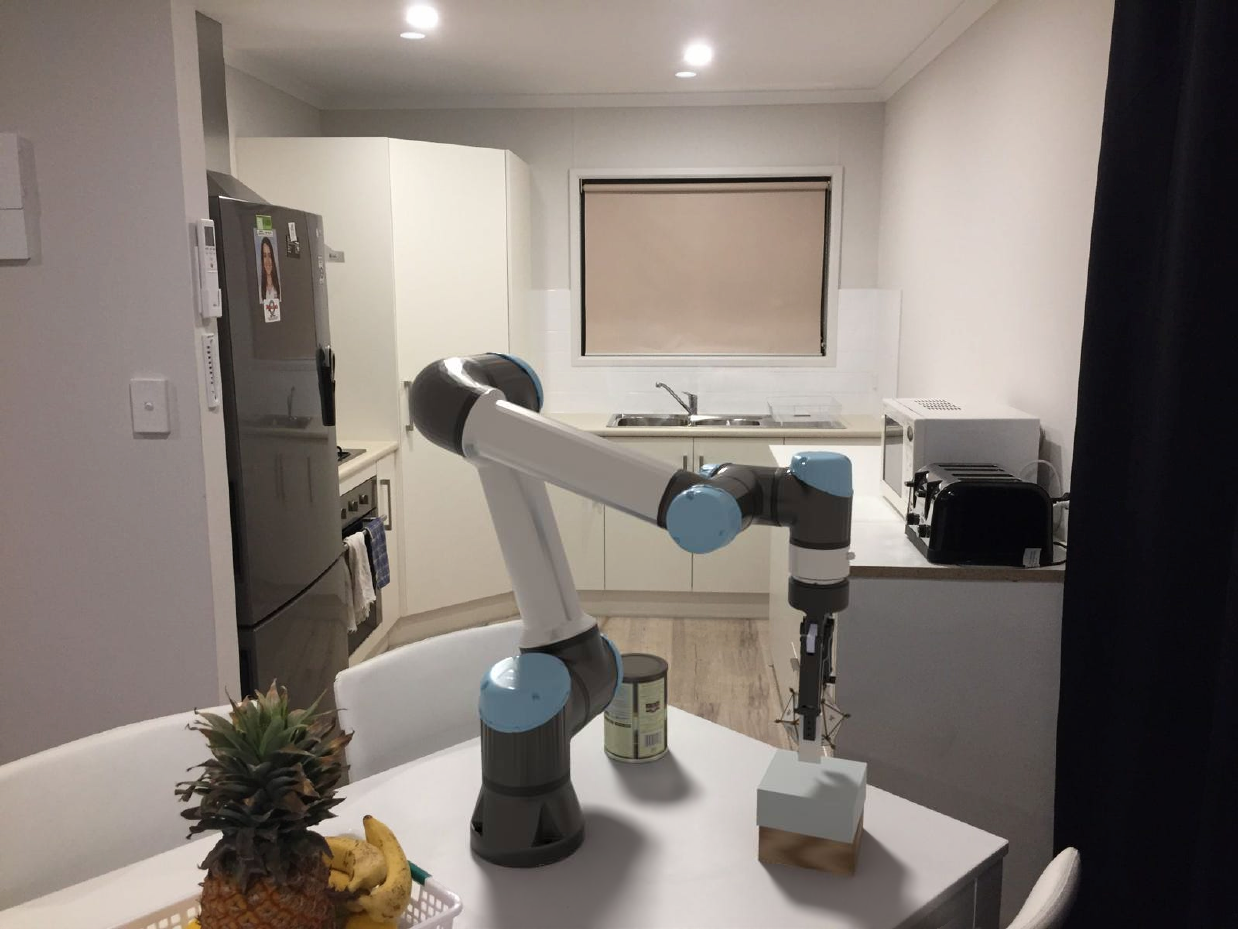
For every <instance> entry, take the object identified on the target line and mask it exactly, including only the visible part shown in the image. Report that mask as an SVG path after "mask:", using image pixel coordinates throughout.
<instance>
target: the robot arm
mask: <svg viewBox="0 0 1238 929" xmlns="http://www.w3.org/2000/svg"><path fill="white" fill-rule="evenodd" d="M543 389H544V388H543V385H542V382H541V380H540V377H539V376H538V374H537V373H536V371H535V370H534V369H533V368H532V366H531V365H530V364H528V363H527V362H526V361H525V360H523V359H522V358H521V357H518V356H516V355H513V354H510V353H502V352H501V353H500V352H492V351H488V352H486V353H484V352H483V353H477V354H470V355H464V356H463V355H462V356H456V357H455V356H454V357H453V356H452V357H445V358H440V359H437V360H434V361H433V362H431V363H429V364H427V365H426V366H425V367H424V368H423V369H422V370H420V372H419V373H418V374H417V375H416V376H415V379H414V380H413V382H412V384H411V386H410V389H409V394H408V401H407V402H408V411H409V415H410V418H411V420H412V423H413V425H414V426H415V428H416V429H417V430H418V432H419V433H420V434H421V436H423V437H424V438H425V439H426V440H428V441H429V442H430V443H432V444H433V445H436V446H437V447H439V448H441V449H443V450H446V451H448V452H451V453H453V454H455V455H458V456H460V457H462V459H463V460H464V461H465V462H467V463H468V464H470V465H473V466H474V467H475V468H476V469H477V473H478V477H479V481H480V483H481V486H482V491H483V493H484V496H485V499H486V503H487V506H488V507H487V508H488V510H489V513H490V516H491V520H492V524H493V527H494V531H495V533H496V536H497V541H498V544H499V548H500V550H501V554H502V557H503V562H504V564H505V568H506V571H507V573H508V579H509V581H510V584H511V585H510V586H511V588H512V591H513V595H514V598H515V600H516V604H517V608H518V612H519V615H520V619H521V622H522V625H523V627H524V628H523V632H522V634H521V636H520V638H519V639H518V642H517V645H518V648H519V651H520V652H519V654H516V655H515V657H510V656H509V657H508V656H507V657H505V658H503V659H500V660H499V661H496V662H495V663H494V664H493V665H491V666H490V667H489V668H488V669H487V670H486V671H485V673H484V674H483V676H482V678H481V681H480V685H479V696H478V704H477V706H478V708H477V709H478V713H479V730H480V732H479V733H480V760H481V761H480V762H481V787H480V789H479V792H478V796H477V798H476V802H475V806H474V808H473V812H472V815H471V819H470V823H469V839H470V845H471V848H472V849H473V850H474V852H475V853H476V854H477V855H478V856H480V857H481V858H483V859H484V860H487V861H489V862H490V863H494V864H496V865H501V866H505V867H512V868H513V867H514V868H515V867H516V868H518V867H519V868H527V867H529V868H530V867H538V866H543V865H544V866H545V865H549V864H552V863H555V862H557V861H561V860H562V859H564V858H567V857H569V856H570V855H572V854H573V853H574V852H575V851H576V850H578V848H580V847H581V845H582V843H583V842H584V838H585V831H586V830H585V816H584V813H583V809H582V806H581V804H580V801H579V798H578V795H577V793H576V791H575V788H574V784H573V782H572V779H571V775H572V773H571V741H572V739H573V738H574V737H575V736H576V735H577V734H578V733H580V732H581V731H582V730H583V729H584V728H585V727H587V725H588V724H590V723H591V722H592V721H593V720H594V719H595V718H596V717H597V716H599V715H601V714H603V713H604V711H605V710H606V708H607V707H608V706H609V705H610V704H611V702H612V700H613V699H614V698H615V696H616V695H617V693H618V692H619V689H620V687H621V684H622V680H623V663H622V658H621V655H620V654H621V653H620V651H619V649H618V647H617V645H616V644H615V643H614V642H613V641H612V639H611V638H607V637H606V634H604V633H602V632H601V631H600V629H599V626H598V622H597V619H596V618H595V617H594V616H591V615H590V614H588V613H586V612H584V610H583V608H582V605H581V603H580V598H579V595H578V591H577V587H576V585H575V580H574V578H573V575H572V571H571V567H570V564H569V561H568V558H567V554H566V551H565V547H564V544H563V541H562V536H561V533H560V530H559V527H558V523H557V521H556V518H555V513H554V508H553V507H552V503H551V500H550V497H549V493H548V488H547V486H546V483H548V484H551V485H552V486H556V487H558V488H561V489H563V490H566V491H568V492H570V493H573V494H576V495H578V496H580V497H583V498H585V499H588V500H591V501H592V502H595V503H598V504H600V505H602V506H605V507H607V508H611V509H612V510H615V511H618V512H620V513H622V514H625V515H628V516H630V517H632V518H635V519H637V520H640V521H642V522H644V523H647V524H649V525H652V526H655V527H657V528H660V529H662V530H665V531H667V533H668V534H669V536H670V537H671V539H672V540H673V542H674V543H675V544H676V546H678V547H679V548H680V549H681V550H684V551H685V552H688V553H691V554H694V555H705V554H710V553H713V552H714V551H717V550H719V549H722V548H724V547H726V546H728V545H730V543H731V542H733V540H734V539H735V538H736V537H737V536H738V535H739V534H741V533H742V532H744V531H746V529H747V530H748V528H749V527H751V526H752V525H753V526H767V527H775V528H776V527H777V528H783V527H785V528H788V531H789V540H788V562H787V564H788V565H787V570H788V572H789V573H790V574H791V575H790V576H789V577H788V579H787V580H788V582H787V583H788V584H787V586H788V587H787V590H788V591H787V602H788V604H789V606H790V607H791V608H793V609H794V610H797V611H801V612H802V613H804V614H805V615H803V616H802V621H800V624H799V635H800V637H799V642H800V646H799V647H800V648H799V655H800V657H799V659H800V660H799V675H798V676H799V677H798V692H799V693H798V707H797V708H793V713H797V714H798V715H799V746H798V745H797V748H798V749H797V751H798V761H801V762H808V763H815V764H820V762H821V756H822V746H821V736H822V712H821V696H822V689H823V684H825V683H827V687H826V689H825V690H826V692H827V693H828V694H829V695H830V696H831V685H836V683H837V676H835V675H832V672H833V670H834V669H833V643H834V642H833V641H834V631H835V625H836V620H835V618H833V617H834V616H833V615H834V614H837V613H841V612H843V611H845V610H846V609H847V608H848V607H849V604H850V580H849V579H848V576H849V574H850V571H851V570H850V569H851V568H850V567H851V565H850V564H851V563H850V562H851V561H853V560H854V561H855V559H856V554H855V552H854V551H850V549H851V543H852V542H851V541H852V538H851V537H852V521H853V518H852V517H853V499H854V490H855V489H854V488H853V464H852V461H851V459H850V458H849V457H848V456H847V455H845V454H842V453H840V452H839V453H838V452H835V451H834V452H833V451H823V450H819V451H811V450H810V451H801V452H797V453H795V454H794V455H792V457H791V460H790V464H789V466H784V467H781V466H780V467H776V466H766V465H765V466H764V465H752V464H738V463H737V464H736V463H733V462H729V461H728V462H727V461H726V462H723V463H717V462H716V463H712V462H710V463H706V464H704V465H702V466H701V467H700V468H699V471H698V473H695V472H693V471H689V470H686V469H684V468H682V467H680V466H677V465H674V464H672V463H670V462H667V461H665V460H661V459H659V458H657V457H654V456H651V455H648V454H646V453H643V452H642V451H638V450H636V449H633V448H630V447H629V446H625V445H623V444H619V443H617V442H614V441H612V440H610V439H607V438H604V437H601V436H599V435H596V434H594V433H591V432H590V431H589V432H588V431H586V430H583V429H581V428H578V427H575V426H573V425H571V424H568V423H566V422H563V421H560V420H557V419H554V418H552V417H550V416H547V415H544V414H543V413H541V411H542V408H543V406H544V398H545V397H544V390H543ZM545 482H546V483H545Z"/></svg>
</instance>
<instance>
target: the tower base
mask: <svg viewBox="0 0 1238 929" xmlns="http://www.w3.org/2000/svg"><path fill="white" fill-rule="evenodd" d="M864 809H865V805H864V806H863V809H862V813H861V816H860V820H859V823H858V827H857V830H856V833H855V837H854V840H853V844H851V843H846V842H840V841H835V840H830V839H825V838H820V837H814V836H809V835H804V834H799V833H793V832H788V831H783V830H778V829H773V828H767V827H762V826H758V846H757V848H758V849H757V850H758V851H757V852H758V853H757V856H758V858H757V859H758V861H762V862H767V863H774V864H778V865H785V866H790V867H796V868H803V869H808V870H812V871H818V872H819V871H820V872H825V873H831V874H835V875H842V876H848V877H853V878H854V877H855V876H856V871H857V865H858V859H859V858H858V857H859V855H860V854H859V853H860V850H861V849H860V848H861V841H862V836H863V831H864V814H865V810H864Z"/></svg>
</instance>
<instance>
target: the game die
mask: <svg viewBox="0 0 1238 929" xmlns="http://www.w3.org/2000/svg"><path fill="white" fill-rule="evenodd" d="M827 685H828V683H825V684H823V689H822V696H821V712H822V736H821V747H827V746H830V748H831V750H834V751H836V746H835V744H833V743H834V741H835V740H836V737H837V735H838V732H839V731H840V728H841V726H842V724H843V722H844V720H845V718H847V719H850V718H851V717H853V716H852V714H850V713H846V714H844V712H843V711H842V710H841V708H840V706H838V705H837V703H836V701H834V699H833V698H832V697H831V694H830V695H829V694H828V693H827V692H826V690H825V689H826V687H827ZM788 690H789V692H790V693H791V697H790V698H789V700H788V702H787V704H786V705H787V706H786V707H785V710H784V712H783V714H782V716H781V718H780V719H779V718H778V719H777V718H776V719H775V720H774V721H773V722H774V723H775V724H780V723H781V724H782V726H783V727H784V728H785V730H786V731H787V733H788V734H789V736H790V737H791V738H792V740H793V741H794V743H796V745H797V747H798V746H799V715H798V714H797V713H793V708H797V707H798V693H799V691H795V689H794V688H793V687H790V686H789V689H788ZM796 752H798V750H797V751H796Z"/></svg>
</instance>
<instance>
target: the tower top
mask: <svg viewBox="0 0 1238 929" xmlns="http://www.w3.org/2000/svg"><path fill="white" fill-rule="evenodd" d="M867 775H868V762H864V761H863V762H862V761H857V760H851V759H844V758H839V757H838V758H837V757H833V756H832V757H831V756H826V755H821V762H820V764H815V763H808V762H801V761H798V752H797V751H795V750H788V749H783V748H782V749H781V748H777V749H776V752H775V753H774V755H773V757H772V759H771V761H770V763H769V765H768V767H767V768H766V770H765V772H764V774H763V777H762V779H761V780H760V782H759V784H758V787H757V789H756V822H755V823H756V826H758V827H759V826H762V827H767V828H773V829H778V830H783V831H788V832H793V833H799V834H804V835H809V836H814V837H820V838H825V839H830V840H835V841H840V842H846V843H851V844H853V840H854V837H855V833H856V830H857V827H858V823H859V820H860V816H861V813H862V809H863V806H864V807H865V802H866V799H867V780H868V778H867Z"/></svg>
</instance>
